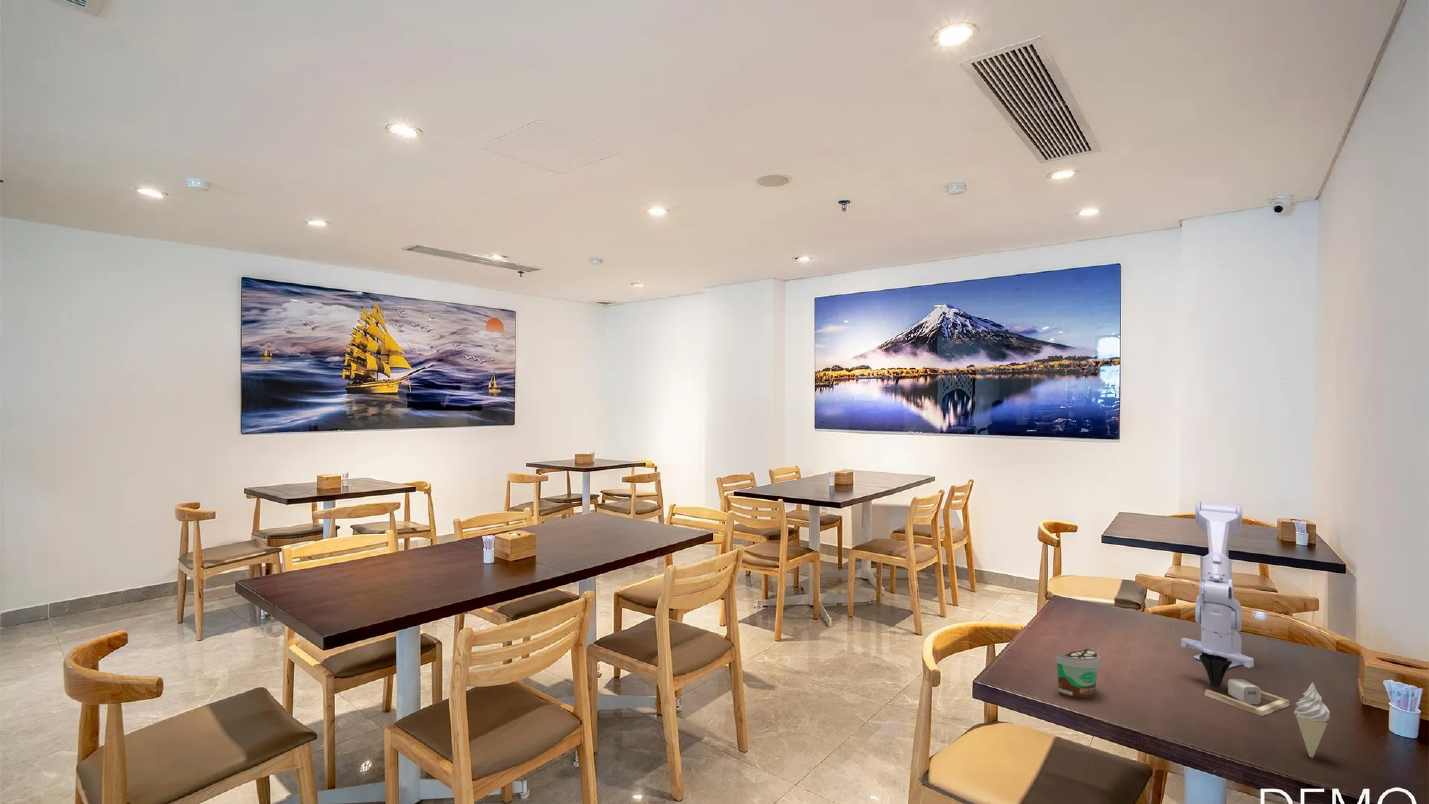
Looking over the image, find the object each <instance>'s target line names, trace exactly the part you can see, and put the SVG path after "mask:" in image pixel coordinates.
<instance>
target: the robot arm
mask: <svg viewBox="0 0 1429 804" xmlns="http://www.w3.org/2000/svg"><path fill="white" fill-rule="evenodd" d="M1194 506H1195V507H1194V508H1195V511H1194V514H1195V515H1194V517H1195V519H1194V520H1195V523H1196V526H1197V529H1198V530H1201V531H1203V532H1205V533H1206V535H1207V545H1208V554H1206V555H1204V556H1203V557H1202V571H1201V575H1202V576H1201V580H1200V581H1199V590H1198V591H1199V593H1198V595H1197V596H1196V599H1195V609H1194V610H1195V613H1194V614H1195V616H1194V617H1195V618H1194V619H1195V623H1197V624H1198V625H1200V628H1201V629H1200V630H1201V633H1200V635H1201V639H1200V640H1195V639H1191V638H1187V637H1184V638H1183V637H1182V638H1181V639H1180V640H1181V642H1180V646H1181V647H1182V648H1189V649H1192V650H1194V651H1198V652H1201V653H1200V654H1197V655H1193V658H1194V659H1196V660H1199V661H1201V663H1202V664H1203V667H1204V669H1205V671H1206V674H1207V676H1208V680H1209V684H1210V686H1211V687H1213V688H1219V687H1221V685H1222V683H1223V679H1224V677H1225V674H1226V672H1227V671H1228V669H1231V668H1234V667H1238V666H1240V665H1243V666H1244V667H1245V668H1248V669H1249V668H1250V669H1251V668H1253V667H1254V663H1255V661H1254V658H1253V657H1250V656H1247V655H1244V654H1242V637H1241V635H1240V633H1239V632H1240V631H1242V607H1241V606H1242V605H1241V603H1240V601H1239V599H1237V598H1235V597H1234V593H1235V592H1234V590H1235V589H1234V585H1233V578H1232V571H1233V569H1232V568H1233V567H1232V565H1233V564H1232V560H1231V559H1230V558H1229V541H1230V538H1232V537H1231V536H1232V535H1235V534H1241V531H1242V527H1243V507H1242V505H1240V504H1238V503H1237V504H1233V503H1232V504H1231V503H1220V502H1219V503H1218V502H1207V501H1201V500H1198V501H1196V503H1195V505H1194Z"/></svg>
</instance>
